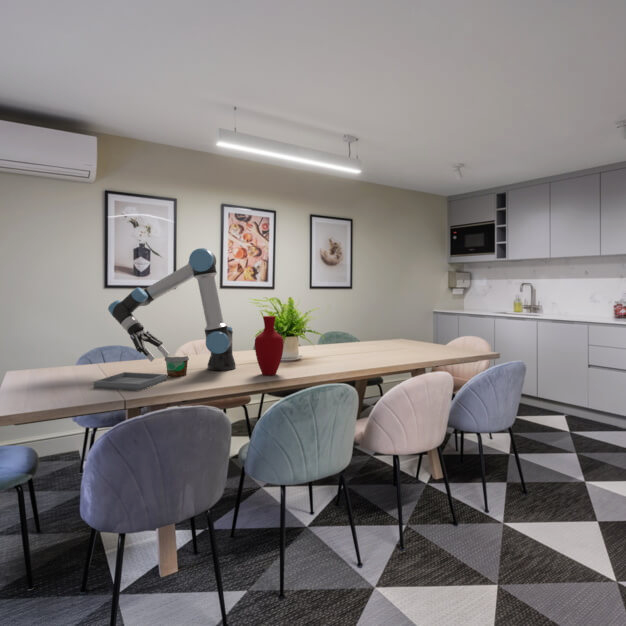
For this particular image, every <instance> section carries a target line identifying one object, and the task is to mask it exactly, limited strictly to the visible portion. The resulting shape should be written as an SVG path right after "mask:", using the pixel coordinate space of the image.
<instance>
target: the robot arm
mask: <svg viewBox="0 0 626 626" xmlns="http://www.w3.org/2000/svg"><path fill="white" fill-rule="evenodd" d="M216 266H217V257H216V256H215V254H214V252H212V251H210V250H209V249H207V248H203V247H202V248H197V249H194V250H193V251H191V253H190V254H189V258H188V262H187V264H186V265H183V266H182V267H180V268H179V269H177V270H175V271H174V272H172V273H170V274H168V275H167V276H165V277H163V278H162V279H159V280H158V281H156V282H155V283H153V284H151V285H150V286H148V287H146V288H144V289H142V288H141V287H139V286H138V287H136V288H135V289H132V291H131V292H130V293H129V294H127V296H126V297H125V298H124V299H123V300H119V299H118V300H114V301H113V302H112V303H110V304H109V305H108V308H107V311H109V313H110V315H111V316H112V317H113V318H114V319H115V320H116V321H117V322H118V323H119V325H121V327H122V328H123V329H124V330H125V331H127V334H129V338H130V340H131V341H132V343H133V344H134V347H135V349H136V351H137V352H138V353H140V354H141V353H143V355H144V356H145V357H146V358H147V359H148V360H149V361H150V362H153V361H154V360H155V359H156V357H155V356H154V355H153V353H152V352H151V351H150V350H149V349H148V347H146V346H145V343H149V344H151V345H152V346H155V347H156V348H157V350H158V351H159V353H161V354H162V355H163V357H164V358H165V357H166V355H167V357H169V355H170V352H169V351H168V350H167V348H165V347H164V346H163V341H161V340H160V339H159V338H157V337H156V336H155V335H153V333H151V332H150V331H149V330H147V331H146V332H145V331H144V329H145V327H144V326H143V325H142V323H141V322H140V321H139V320H138V319H137V318H136V316H134V315H133V312H135V311H136V310H137V309H138V308H139V307H143V306H144V307H146V306H148V305H150V304H151V303H152V302H153V301H155V300H157V299H158V298H160V297H162V296H164V295H166V294H167V293H169V292H171V291H173V290H174V289H176V288H178V287H179V286H181V285H183V284H185V283H186V282H188V281H190V280H192V279H193V278H194V279H196V280H197V283H198V289H199V293H200V300H201V302H202V303H201V304H202V310H203V314H204V318H205V319H204V320H205V325H206V326H205V328H204V333H205V334H204V336H205V346H206V348H207V350H208V351H209V352H210V356H209V359H208V361H207V370H209V369H210V370H209V371H215V370H224V371H230V370H231V369H232V370H235V369H236V368H237V367H236V366H237V364H236V361H235V357H234V355H233V333H234V331H233V328H232V326H228V325H227V324H226V323H225V322H224V319H223V313H222V308H221V304H220V303H221V302H220V298H219V293H218V287H217V282H216V279H215V276H216V275H217V274H218V273H217V267H216ZM234 368H235V369H234Z"/></svg>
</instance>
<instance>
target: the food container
mask: <svg viewBox="0 0 626 626" xmlns="http://www.w3.org/2000/svg"><path fill="white" fill-rule="evenodd" d="M189 360H190V358H189V356H188V355H185V356H172V357H171V356H167V355H166V357H164V361H165V363H166V365H165V366H166V373H167V374H166V377H168V376H170V377H169V378H181V377H180V376H183V377H187V370H188V361H189Z"/></svg>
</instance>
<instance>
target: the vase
mask: <svg viewBox="0 0 626 626" xmlns="http://www.w3.org/2000/svg"><path fill="white" fill-rule="evenodd" d="M262 318H263V319H262V320H263V324H264V325H263V326H264V329H263V330H262V332H260V334H258V335H257V336H256V337H255V339H254V350H255V351H254V352H255V356H256V360H257V361H256V362H257V364H258V367H259V369H260V372H261V374H262V375H263V376H275V375H276V374H277V373H278V370H279V367H280V364H281V361H282V359H283V353H284V345H285V344H284V342H285V341H284V337H283V336H282V335H281V334H280V333H278V332H277V331H276V329H275V322H276V316H275V315H273V316H272V315H264V316H262Z"/></svg>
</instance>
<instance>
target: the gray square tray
mask: <svg viewBox="0 0 626 626" xmlns="http://www.w3.org/2000/svg"><path fill="white" fill-rule="evenodd" d="M163 381H164V382H166V381H167V374H166V373H165V374H164V373H149V372H145V373H144V372H132V371H131V372H129V371H128V372H127V371H124V372H120V373H117V374H114V375H110V376H108V377H107V376H106V377H103V378H101V379H98V380H94V381H93V389H97V388H107V389H106V390H114V389H122V390H121V391H131V390H141V391H143V390H142V389H144V390H146V389H148V388H147V387H149V388H151V387H153V385H154V386H157V385H158V383H159V384H161V383H163ZM150 386H151V387H150ZM145 388H146V389H145Z"/></svg>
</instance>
